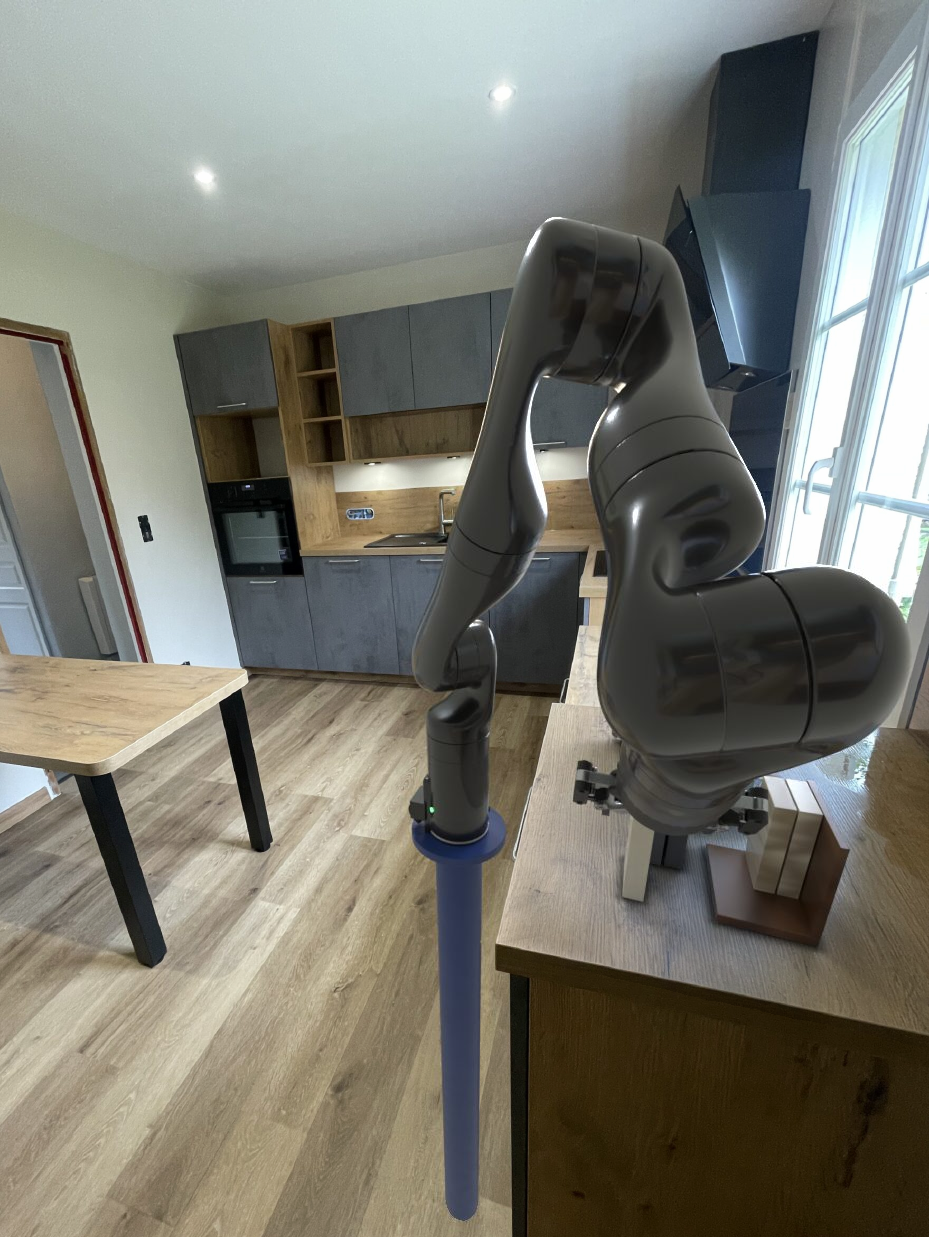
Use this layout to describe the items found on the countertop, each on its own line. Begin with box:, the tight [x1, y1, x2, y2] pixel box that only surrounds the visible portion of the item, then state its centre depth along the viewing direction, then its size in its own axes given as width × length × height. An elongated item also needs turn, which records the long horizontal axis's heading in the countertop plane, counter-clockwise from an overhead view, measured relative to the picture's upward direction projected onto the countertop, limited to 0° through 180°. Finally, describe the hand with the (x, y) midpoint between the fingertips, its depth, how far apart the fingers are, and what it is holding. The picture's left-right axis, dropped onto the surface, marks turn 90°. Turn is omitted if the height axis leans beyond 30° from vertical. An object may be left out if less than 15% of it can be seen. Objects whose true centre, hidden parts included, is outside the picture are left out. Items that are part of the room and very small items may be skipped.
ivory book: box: [622, 814, 654, 903], centre depth 66 cm, size 2×7×12 cm, turn 159°
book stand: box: [704, 776, 851, 948], centre depth 63 cm, size 10×13×13 cm
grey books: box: [649, 831, 689, 870], centre depth 71 cm, size 5×7×13 cm
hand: (654, 813), depth 50 cm, fingers open, 8 cm apart
